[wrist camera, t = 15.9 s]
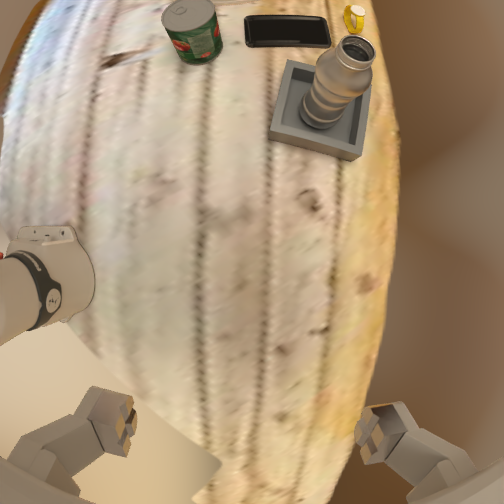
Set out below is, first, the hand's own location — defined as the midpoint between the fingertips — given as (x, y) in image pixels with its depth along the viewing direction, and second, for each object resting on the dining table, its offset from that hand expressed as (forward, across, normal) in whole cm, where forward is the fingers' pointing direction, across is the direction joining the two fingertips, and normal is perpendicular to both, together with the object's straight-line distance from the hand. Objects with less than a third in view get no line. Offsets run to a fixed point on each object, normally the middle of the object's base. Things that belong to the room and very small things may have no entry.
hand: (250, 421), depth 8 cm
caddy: (+38, -10, -19) cm, 44 cm away
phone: (+42, -4, -35) cm, 55 cm away
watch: (+41, -16, -40) cm, 60 cm away
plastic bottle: (+38, -10, -19) cm, 43 cm away
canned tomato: (+42, +11, -30) cm, 53 cm away
